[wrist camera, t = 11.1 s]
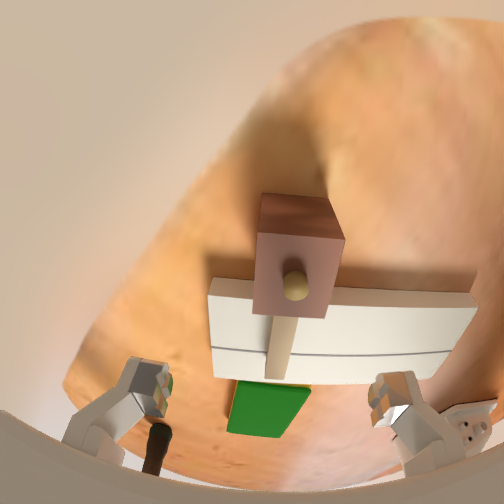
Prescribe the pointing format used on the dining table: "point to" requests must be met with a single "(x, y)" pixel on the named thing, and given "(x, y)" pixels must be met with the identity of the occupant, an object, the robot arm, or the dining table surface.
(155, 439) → the potato masher grenade
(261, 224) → the block
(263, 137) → the dining table surface
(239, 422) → the dish sponge
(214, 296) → the board
